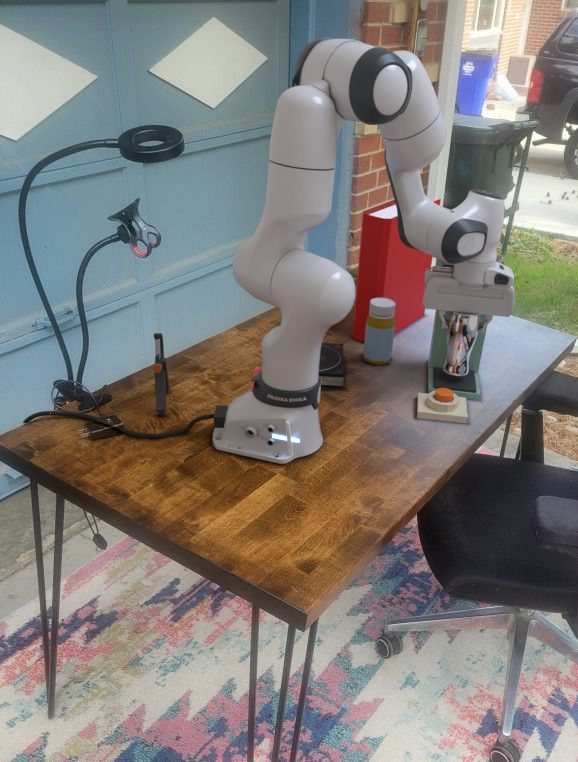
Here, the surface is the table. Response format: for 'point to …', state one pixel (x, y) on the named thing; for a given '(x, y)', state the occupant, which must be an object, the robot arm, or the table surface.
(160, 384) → the hand grip strengthener
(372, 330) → the bottle
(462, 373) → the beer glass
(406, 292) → the book
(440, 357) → the mint green tower
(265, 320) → the table surface
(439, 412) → the control pad
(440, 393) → the button
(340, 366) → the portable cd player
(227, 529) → the table surface
